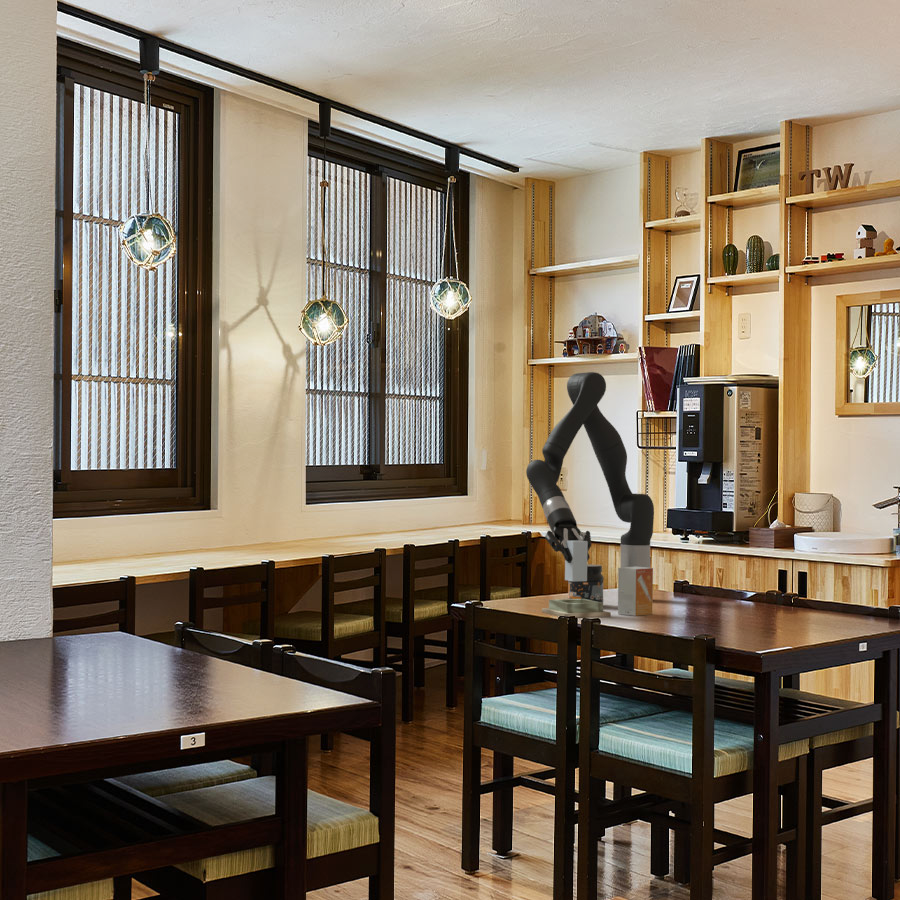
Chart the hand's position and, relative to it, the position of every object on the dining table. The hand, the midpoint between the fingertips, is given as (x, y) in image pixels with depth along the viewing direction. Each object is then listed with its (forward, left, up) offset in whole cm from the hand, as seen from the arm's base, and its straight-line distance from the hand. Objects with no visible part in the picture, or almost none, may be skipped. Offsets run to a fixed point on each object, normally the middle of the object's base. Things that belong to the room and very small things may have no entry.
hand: (578, 560), depth 302 cm
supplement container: (-13, -20, -15) cm, 28 cm away
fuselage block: (0, -1, -6) cm, 6 cm away
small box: (-16, +3, -15) cm, 22 cm away
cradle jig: (0, -2, -15) cm, 15 cm away
